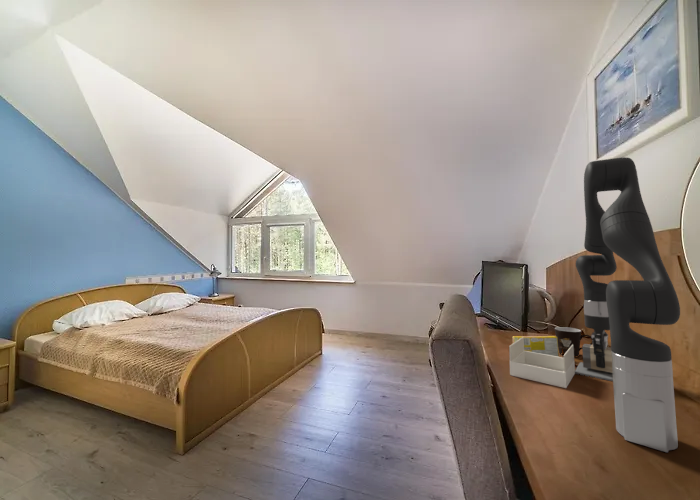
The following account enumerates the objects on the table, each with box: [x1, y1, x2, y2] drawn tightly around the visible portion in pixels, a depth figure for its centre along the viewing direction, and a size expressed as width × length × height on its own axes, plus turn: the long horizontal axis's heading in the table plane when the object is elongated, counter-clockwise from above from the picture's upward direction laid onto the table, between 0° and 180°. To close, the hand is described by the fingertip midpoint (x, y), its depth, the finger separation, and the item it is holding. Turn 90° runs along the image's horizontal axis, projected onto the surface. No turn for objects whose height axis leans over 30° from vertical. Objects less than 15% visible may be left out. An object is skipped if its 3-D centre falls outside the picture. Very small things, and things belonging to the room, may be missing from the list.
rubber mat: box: [574, 361, 613, 382], centre depth 97 cm, size 13×13×1 cm
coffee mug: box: [554, 326, 593, 356], centre depth 115 cm, size 12×9×10 cm
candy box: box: [512, 335, 560, 357], centre depth 114 cm, size 16×2×8 cm, turn 84°
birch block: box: [581, 343, 613, 373], centre depth 97 cm, size 4×9×7 cm, turn 45°
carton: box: [508, 337, 576, 389], centre depth 97 cm, size 16×15×10 cm
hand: (601, 365), depth 97 cm, fingers closed on birch block, 4 cm apart
